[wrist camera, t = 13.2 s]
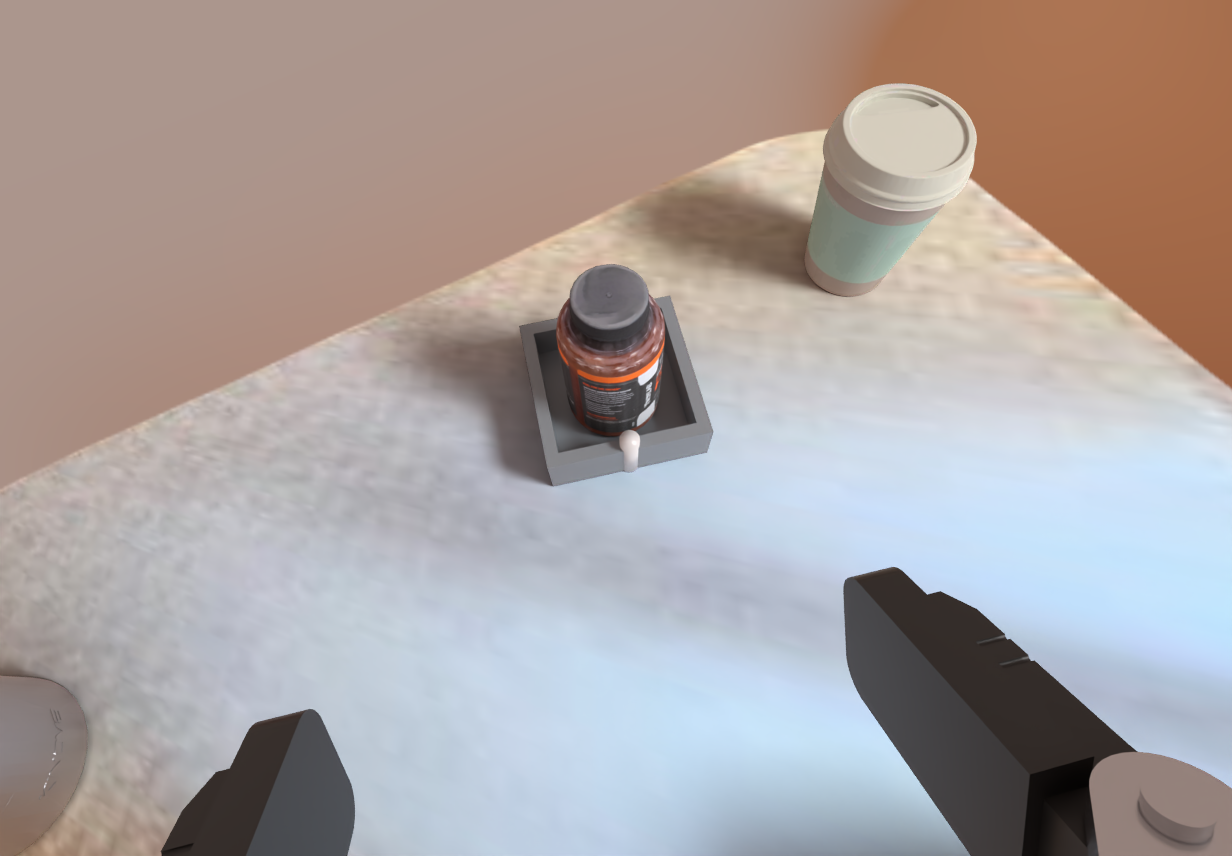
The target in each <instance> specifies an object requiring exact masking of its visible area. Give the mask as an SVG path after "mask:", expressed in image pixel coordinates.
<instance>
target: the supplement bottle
mask: <svg viewBox="0 0 1232 856" xmlns="http://www.w3.org/2000/svg"><path fill="white" fill-rule="evenodd" d="M556 337H557V343H558V350H559V355H560V360H561V365H562V371H563V376H564V381H565V386H566V392H567V397H568V401H569V405H570V408H571V410H572V412H573V414H574V416H575V417H576V419H577V420H578V421H579V422H580V423H581V424H582V425H583V426H584V427H585V428H587V429H588V430H590V431H591V432H594V433H597V434H600V435H604V436H620V435H621V434H622V433H623V432H624V431H626V430H633V431H637V430H638V429H640V428H641V427H643V426H644V425H645V424H646V423H647V422H648V421H649V420H650V418H651V417H652V416H653V414H654V412H655V410H656V407H657V403H658V400H659V393H660V383H661V371H662V362H663V351H664V343H665V322H664V316H663V314H662V312H661V310H660V308H659V306H658V304H657V303H656V301H655V300H654V299H653V297H651V296H650V295H649V293H648V289H647V286H646V284H645V282H644V281H643V279H642V278H641V276H639V275H638V274H637V273H636V272H634V271H633V270H631V269H629V268H627V267H624V266H621V265H616V264H607V265H600V266H595V267H594V268H591V269H589V270H587V271H585V272H584V273H583V274H581V275H580V276H579V277H578V278H577V280H576V281H575V282H574V284H573V286H572V288H571V291H570V298H569V299H568V300H567V301H566V303H565V304H564V306H563V307H562V309H561V311H560V313H559V317H558V320H557V327H556Z"/></svg>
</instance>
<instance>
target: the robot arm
mask: <svg viewBox="0 0 1232 856" xmlns="http://www.w3.org/2000/svg"><path fill="white" fill-rule="evenodd" d="M844 614H845V636H846V656H847V663H848V667H849V671H850V674H851V677H852V680H853V682H854V685H855V687H856V689H857V691H858V693H859V695H860V697H861V698H862V700H863V701H864V703H865V704H866V706H867V707H868V708H869V710H870V711H871V713H872V714H873V716H874V717H875V719H876V720H877V721H878V723H879V724H880V726H881V727H882V729H883V730H884V731H885V733H886V734H887V736H888V737H889V739H890V740H891V741H892V743H893V744H894V746H895V747H896V749H897V750H898V752H899V753H900V754H901V756H902V757H903V759H904V760H905V762H906V763H907V764H908V766H909V767H910V769H911V770H912V772H913V773H914V775H915V776H916V777H917V779H918V780H919V782H920V783H921V785H922V786H923V787H924V789H925V790H926V792H927V793H928V795H929V796H930V798H931V799H932V800H933V802H934V803H935V805H936V806H937V808H938V809H939V810H940V812H941V813H942V815H943V816H944V818H945V819H946V821H947V822H948V823H949V825H950V826H951V828H952V829H953V831H954V832H955V833H956V835H957V836H958V838H959V839H960V841H961V842H962V843H963V845H964V846H965V848H966V849H967V851H968V852H969V854H970V855H971V856H1232V788H1230V787H1229V786H1227V785H1226V784H1224V783H1223V782H1222V781H1220V780H1218V779H1217V778H1215V777H1213V776H1212V775H1210V774H1208V773H1207V772H1205V771H1202V770H1200V769H1198V768H1196V767H1194V766H1192V765H1190V764H1187V763H1184V762H1182V761H1179V760H1176V759H1173V758H1169V757H1166V756H1162V755H1157V754H1151V753H1143V752H1137V751H1136V750H1135V749H1133V748H1132V747H1131V746H1130V745H1128V744H1127V743H1126V742H1125V741H1124V740H1123V739H1122V738H1121V737H1120V736H1118V735H1117V734H1116V733H1115V732H1114V731H1113V730H1112V729H1111V728H1109V727H1108V726H1107V725H1106V724H1105V723H1104V722H1103V721H1102V720H1100V719H1099V718H1098V717H1097V716H1096V715H1095V714H1094V713H1093V712H1091V711H1090V710H1089V709H1088V708H1087V707H1086V706H1085V705H1084V704H1083V703H1081V702H1080V701H1079V700H1078V699H1077V698H1076V697H1075V696H1074V695H1072V694H1071V693H1070V692H1069V691H1068V690H1067V689H1066V688H1065V687H1063V686H1062V685H1061V684H1060V683H1059V682H1058V681H1057V680H1056V679H1055V678H1053V677H1052V676H1051V675H1050V674H1049V673H1048V672H1047V671H1046V670H1044V669H1043V668H1042V667H1041V666H1040V665H1039V664H1038V663H1037V662H1035V661H1031V660H1030V659H1029V657H1028V654H1027V653H1025V652H1024V651H1023V650H1022V649H1021V648H1020V647H1019V646H1018V645H1016V644H1015V643H1014V642H1013V641H1012V640H1011V639H1008V640H1007V639H1006V637H1005V634H1004V633H1003V632H1002V631H1001V630H1000V629H998V628H997V627H996V626H995V625H994V624H993V623H992V622H991V621H990V620H988V619H987V618H986V617H985V616H984V615H983V614H982V613H981V612H979V611H978V610H977V609H975V608H973V607H971V606H969V605H967V604H965V603H963V602H961V601H959V600H957V599H955V598H953V597H951V596H949V595H947V594H945V593H943V592H941V591H940V592H936V593H932V594H928V595H927V594H926V593H925V592H924V591H923V590H922V589H921V588H920V587H919V586H917V585H916V584H915V583H914V582H913V581H912V580H911V579H910V578H909V577H908V576H907V575H906V574H905V573H904V572H903V571H902V570H900V569H899V568H896V567H890V568H886V569H882V570H878V571H874V572H870V573H866V574H862V575H858V576H854V577H850V578H847V579H846V580H845V583H844ZM86 753H87V726H86V721H85V717H84V713H83V711H82V709H81V707H80V705H79V704H78V702H77V700H76V698H75V697H74V696H73V695H72V694H71V693H70V692H69V691H68V690H67V689H66V688H64V687H62V686H60V685H58V684H57V683H55V682H53V681H49V680H45V679H40V678H32V677H14V676H0V856H16V855H17V854H19V853H20V852H22V851H23V850H24V849H26V848H27V847H29V846H30V845H32V844H33V843H34V842H35V841H36V840H37V839H38V838H39V837H40V836H41V835H42V834H43V833H45V832H46V831H47V830H48V829H49V828H50V826H51V825H52V824H53V823H54V821H55V820H56V819H57V818H58V816H59V815H60V814H61V812H62V811H63V810H64V809H65V807H66V805H67V803H68V801H69V800H70V798H71V796H72V794H73V793H74V791H75V789H76V787H77V784H78V781H79V779H80V776H81V774H82V771H83V768H84V763H85V758H86ZM354 820H355V803H354V795H353V790H352V786H351V783H350V781H349V778H348V776H347V774H346V772H345V769H344V767H343V765H342V763H341V761H340V758H339V756H338V754H337V752H336V750H335V747H334V745H333V743H332V741H331V738H330V736H329V734H328V732H327V730H326V727H325V725H324V723H323V721H322V719H321V717H320V715H319V714H318V713H317V712H316V711H315V710H313V709H308V710H304V711H300V712H296V713H292V714H288V715H284V716H280V717H276V718H272V719H268V720H264V721H260V722H257V723H255V724H254V725H252V726H251V728H250V729H249V731H248V732H247V734H246V736H245V738H244V740H243V742H242V744H241V747H240V749H239V751H238V753H237V755H236V757H235V759H234V761H233V763H232V765H231V767H230V769H226V770H223V771H219V772H216V773H215V774H214V775H213V776H212V778H211V779H210V780H209V781H208V782H207V783H206V784H205V786H204V787H203V788H202V789H201V790H200V791H199V792H198V793H197V795H196V796H195V797H194V798H193V799H192V800H191V801H190V803H189V804H188V805H187V806H186V807H185V808H184V809H183V811H182V813H181V814H180V816H179V818H178V820H177V822H176V824H175V826H174V828H173V830H172V832H171V833H170V835H169V837H168V839H167V841H166V843H165V845H164V847H163V849H162V851H161V853H162V856H347V854H348V850H349V846H350V842H351V838H352V834H353V829H354Z"/></svg>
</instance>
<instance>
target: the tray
mask: <svg viewBox="0 0 1232 856" xmlns="http://www.w3.org/2000/svg"><path fill="white" fill-rule="evenodd" d="M654 300H655V301H656V303H657V304H658V306H659V308H660V310H661V312H662V314H663V316H664V322H665V343H664V351H663V362H662V371H661V383H660V393H659V400H658V403H657V407H656V410H655V412H654V414H653V416H652V417H651V418H650V420H649V421H648V422H647V423H646V424H645V425H644V426H643V427H641V428H640V429H638V430H637V431H633V430H626V431H624V432H623V433H622V434H621V435H620V436H604V435H600V434H597V433H594V432H591V431H590V430H588V429H587V428H585V427H584V426H583V425H582V424H581V423H580V422H579V421H578V420H577V419H576V417H575V416H574V414H573V412H572V410H571V408H570V405H569V401H568V397H567V392H566V386H565V381H564V376H563V371H562V365H561V360H560V355H559V350H558V343H557V337H556V327H557V320H558V318H556V319H551V320H546V321H541V322H536V323H531V324H527V325H522V326H519V327H520V332H521V337H522V343H523V348H524V353H525V358H526V363H527V368H528V373H529V378H530V383H531V388H532V393H533V398H534V403H535V408H536V414H537V419H538V424H539V429H540V434H541V439H542V444H543V449H544V454H545V459H546V464H547V469H548V472H549V475H550V478H551V481H552V484H553V486H558V485H562V484H567V483H571V482H576V481H580V480H585V479H589V478H594V477H598V476H603V475H607V474H612V473H616V472H621V471H625V472H634V471H635V470H636V469H637V468H639V467H643V466H648V465H652V464H657V463H661V462H666V461H671V460H675V459H680V458H684V457H689V456H693V455H698V454H702V453H707V451H708V448H709V444H710V441H711V438H712V435H713V429H712V426H711V423H710V420H709V417H708V414H707V410H706V407H705V404H704V401H703V398H702V395H701V392H700V389H699V385H698V382H697V379H696V376H695V373H694V370H693V367H692V363H691V360H690V357H689V354H688V351H687V348H686V345H685V341H684V338H683V335H682V332H681V329H680V326H679V323H678V319H677V316H676V313H675V310H674V307H673V304H672V301H671V297H670V296H666V297H661V298H656V299H654Z"/></svg>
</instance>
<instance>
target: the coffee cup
mask: <svg viewBox="0 0 1232 856" xmlns="http://www.w3.org/2000/svg"><path fill="white" fill-rule="evenodd" d="M975 147H976V131H975V128H974V125H973V123H972V121H971V119H970V117H969V116H968V114H967V113H966V112H965V111H964V110H963V109H962V108H961V107H960V106H959V105H958V104H957V103H955V102H954V101H953V100H952V99H950V98H948V97H947V96H945V95H943V94H941V93H939V92H937V91H934V90H932V89H929V88H926V87H922V86H917V85H911V84H887V85H881V86H877V87H874V88H871V89H868V90H866V91H864V92H862V93H861V94H859V95H858V96H856V97H855V98H854V99H853V100H852V101H851V102H850V103H849V105H848V106H847V107H846V109H845V110H844V111H842V112H841V113H840V115H838V117H837V118H836V119H835V121H834V122H833V124H832V126H831V127H830V129H829V130H828V132H827V134H826V137H825V140H824V145H823V154H824V160H825V163H824V167H823V172H822V177H821V181H820V186H819V191H818V195H817V200H816V205H815V209H814V214H813V219H812V223H811V228H810V233H809V237H808V242H807V247H806V252H805V258H804V263H805V268H806V271H807V273H808V275H809V276H810V278H811V279H812V280H813V281H814V282H815V283H816V284H817V285H818V286H819V287H821V288H822V289H824V290H826V291H828V292H830V293H833V294H836V295H841V296H858V295H862V294H865V293H867V292H870V291H871V290H873V289H874V288H875V287H876V286H877V285H878V284H879V283H880V282H881V281H882V279H883V278H884V277H885V276H886V275H887V273H888V272H889V271H890V270H891V269H892V268H893V266H894V265H895V264H896V263H897V261H898V260H899V259H900V258H901V257H902V255H903V254H904V253H905V252H906V251H907V249H908V248H909V247H910V246H911V244H912V243H913V242H914V241H915V240H916V238H917V237H918V236H919V235H920V234H921V232H922V231H923V230H924V229H925V227H926V226H927V225H928V224H929V223H930V221H931V220H932V219H933V218H934V217H935V215H936V214H937V213H938V212H939V210H940V209H941V208H942V207H943V206H944V204H945V203H947V202H949V201H950V200H952V199H953V198H955V197H956V196H957V195H958V194H959V193H960V192H961V191H962V190H963V188H964V187H965V185H966V183H967V181H968V179H969V176H970V173H971V171H972V168H973V164H974V151H975Z"/></svg>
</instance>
